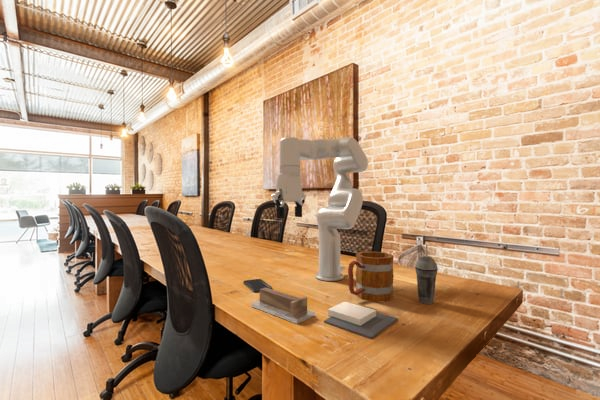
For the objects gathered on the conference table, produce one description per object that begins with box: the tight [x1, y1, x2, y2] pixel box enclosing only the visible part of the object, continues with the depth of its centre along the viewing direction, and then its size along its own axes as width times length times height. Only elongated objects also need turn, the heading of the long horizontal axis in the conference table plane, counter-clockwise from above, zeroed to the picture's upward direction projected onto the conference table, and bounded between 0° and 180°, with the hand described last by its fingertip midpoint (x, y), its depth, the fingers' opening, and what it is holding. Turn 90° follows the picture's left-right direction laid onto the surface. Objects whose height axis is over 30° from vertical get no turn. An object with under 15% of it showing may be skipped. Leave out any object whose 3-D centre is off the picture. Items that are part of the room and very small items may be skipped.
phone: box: [243, 278, 273, 294], centre depth 120 cm, size 8×1×15 cm
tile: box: [327, 301, 377, 326], centre depth 89 cm, size 9×2×11 cm
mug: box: [347, 251, 395, 303], centre depth 107 cm, size 20×14×15 cm
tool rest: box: [251, 299, 316, 325], centre depth 94 cm, size 8×20×1 cm, turn 48°
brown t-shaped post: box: [259, 287, 308, 316], centre depth 95 cm, size 6×17×4 cm, turn 48°
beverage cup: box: [414, 243, 439, 305], centre depth 103 cm, size 7×7×20 cm
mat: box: [323, 311, 399, 340], centre depth 87 cm, size 16×15×1 cm
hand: (289, 217), depth 111 cm, fingers open, 9 cm apart
